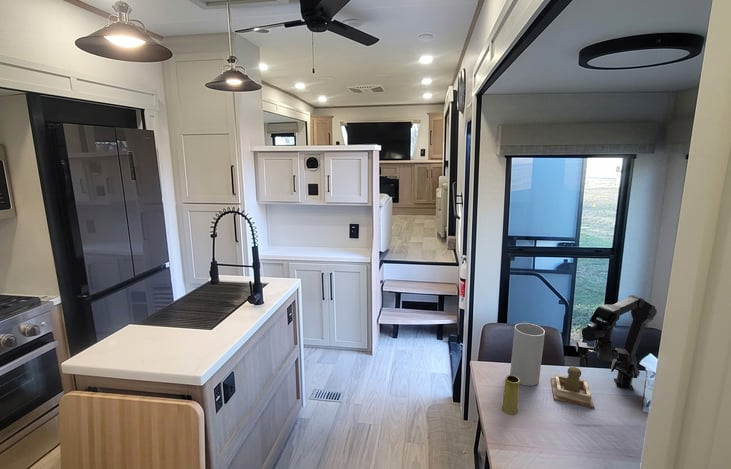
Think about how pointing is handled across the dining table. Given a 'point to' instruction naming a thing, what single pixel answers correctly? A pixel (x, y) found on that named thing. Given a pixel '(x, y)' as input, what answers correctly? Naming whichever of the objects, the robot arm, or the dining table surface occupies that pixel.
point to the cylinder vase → (527, 353)
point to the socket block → (571, 392)
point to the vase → (511, 395)
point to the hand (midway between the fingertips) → (599, 369)
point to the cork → (573, 380)
